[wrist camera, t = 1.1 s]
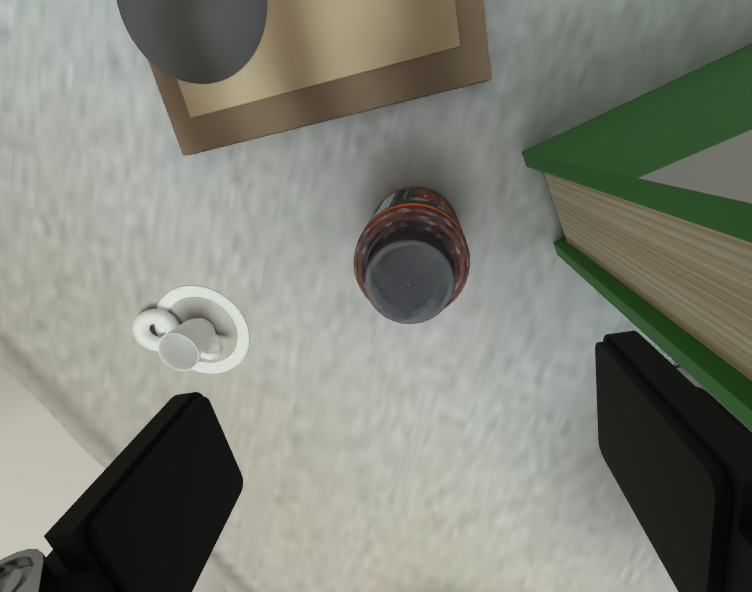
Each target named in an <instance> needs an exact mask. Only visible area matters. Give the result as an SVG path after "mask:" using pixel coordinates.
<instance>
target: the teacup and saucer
mask: <svg viewBox="0 0 752 592" xmlns="http://www.w3.org/2000/svg"><path fill="white" fill-rule="evenodd" d="M186 297H203V298H207V299H209V300H212V301H214V302H216V303H217V304H219V305H220V306H222V307H223V308H224V309H225V310H226V311H227V312H228V313H229V314H230V316H231V317H232V319H233V320H234V322H235V325H236V327H237V331H238V342H237V346H236V348H235V350H234V352H233V353H232V354H231V355H230V356H229V357H228V358H226V359H225V360H223V361H220V362H216V363H203V362H199V361H200V360H201V359H202V358H204V359H208V360H213V359H217V358H219V357H220V356H221V354H222V352H223V343H222V341H221V339H220V338H219V336H218V335H217V334H216V333H215V328H214V326H213V325H212V323H211V322H209V321H208V320H206V319H203V318H194V319H190V320H188V321H186V322H184V323H182V324H179V322H178V320H177V319H176V318H175V317H174V316H173V315H172V314H170V313H169V312H168V311H169V310H170V308H171V307H172V305H173V304H174V303H176V302H177V301H179V300H181V299H183V298H186ZM152 324H155V330H156V333H157V336H155V335H154V334H152V333H151V331H150V326H151V325H152ZM132 332H133V335H134V337H135V339H136V340H137V342H138V343H139V344H141V345H142V346H143V347H145V348H147V349H149V350H153V351H158V353H159V355H160V357H161V359H162V360H163V361H164V362H165V363H166V364H167V365H168V366H170V367H171V368H173V369H176V370H181V371H186V370H190V369H192V370H194V371H198V372H202V373H221V372H225V371H228V370H230V369H232V368H234V367H235V366H237V365H238V364H239V363H240V362H241V361H242V360H243V358H244V357H245V355H246V353H247V351H248V347H249V330H248V326H247V323H246V321H245V319H244V317H243V315H242V313H241V312H240V310H239V309H238V308H237V307H236V306H235V304H234V303H233V302H231V301H230V300H229V299H228V298H227V297H225V296H224V295H222V294H221V293H219V292H217V291H215V290H212V289H210V288H206V287H202V286H195V285H189V286H182V287H178V288H176V289H173V290H171V291H170V292H168V293H167V294H166V295H165V296H164V297H163V298H162V299H161V300H160V302H159V303H158V305H157V308H156V309H149V310H146V311H143V312H141V313H140V314H139V315H137V316H136V318H135V319H134V321H133V325H132ZM214 340H216V341H217V342H218V343H219V345H220V350H219V351H218V352H216V353H208V352H207V351H208V350H209V348H210V347H211V345H212V343H213V341H214Z"/></svg>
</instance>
